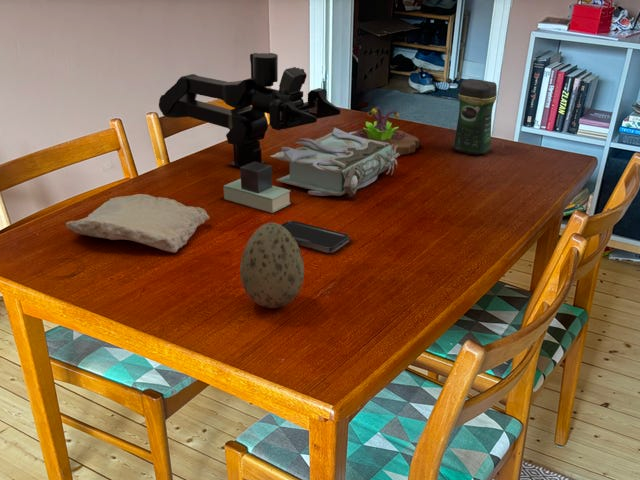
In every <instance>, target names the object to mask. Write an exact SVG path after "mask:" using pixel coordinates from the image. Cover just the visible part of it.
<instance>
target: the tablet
mask: <svg viewBox="0 0 640 480" xmlns="http://www.w3.org/2000/svg"><path fill="white" fill-rule="evenodd" d="M207 220H210V215H208V213H207V211H206V210H205V209H204V208H202V207H199V206H189V205H188V206H186V205H185V204H183V203H181V202H178V201H177V200H175V199H171V198H168V197H161V196H159V197H155V196H154V195H153V196H152V195H150V194H143V193H138V194H133V195H124V196H123V195H122V196H117V197H111V198H109V200H108V201H105V202H104V203H102V205H100V206H99V207H98V208H96V209H94V210H93V211H92V212H90V213H89V214H88V215H87V216H86V217H84V218H81V219H78V220H71V221H67V222H66V223H65V226H66V229H67V230H70V231H71V232H73V233H76V234H79V235H81V236H87V237H94V238H100V239H107V240H111V241H117V240H123V241H124V240H125V241H126V240H127V241H132V242H135V243H139V244H142V245H146V246H148V247H152V248H156V249H159V250H161V251H163V252H164V251H165V252H169V253H177V252H178V250H179V249H182V248H183V246H185V245H187V242H188V240H189V239H190V238H191V237H192V236H193V235H194V234H195V232H196V230H197V227H199V226H201V225H203V224H205V222H206V221H207Z"/></svg>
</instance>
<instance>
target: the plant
mask: <svg viewBox="0 0 640 480" xmlns="http://www.w3.org/2000/svg"><path fill="white" fill-rule="evenodd" d="M377 112H378V114H377ZM391 114H394V118H396V119H398V118H399V117H400V114H399V112H398V111H395V110H390V111H388V112H387V113H386V114H385V115H384V117H383V113H382V109H381V108H380V107H379V106H375V107H373V108H372V109H371V110H369V111H368V112H367V117H369V118H371V117H372V116H374V118H375V119H376V120H375V121H373V123H372V122H370V121H365V126H366V128H365V127H362V129H360V128H357V129H356V130H354V131H352V132H357V133H353V134H351V135H354V136H358V137H361V138H365V139H370V140H375V141H380V142H385V143H388V144H390V145H391V146H392V144H393V146H392V149H393V150H394V148H395V146H396V145H398V146H397V148H396V153H399V155H400V156H404V155H405V156H407V155H410V154H412V153H415V152H416V149H419V147H420V140H419V138H418V137H416V136H414V135H411V134H409V133H407V132H404V131H403V130H398V129H399V128H400V127H399V126H395V127H394V126H393V127H392V124H393V122H390V121H389V120H388V119H389V116H390V115H391ZM396 153H395V154H396ZM395 154H394V155H395Z"/></svg>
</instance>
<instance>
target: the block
mask: <svg viewBox="0 0 640 480" xmlns="http://www.w3.org/2000/svg"><path fill="white" fill-rule="evenodd" d="M239 169H240V170H239V171H240V172H239V173H240V179H241V189H244V190H248V191H251V192H255V193H261V192H263V191H265V190H267V189H269V188H272V186H273V170H272V169H273V167H272V165H270V164H267V163H265V164H263V163H259V162H255V161H254V162H252V163H249V164H247V165H244V166H242V167H240V168H239Z"/></svg>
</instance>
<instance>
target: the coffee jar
mask: <svg viewBox="0 0 640 480" xmlns="http://www.w3.org/2000/svg"><path fill="white" fill-rule="evenodd" d="M497 89H498V88H497V83H496V82H494V81H488V80H484V79H479V78H478V79H477V78H467V79H464V80H462V81H461V84H460V86H459V90H458V101H459V110H458V118H457V123H456V124H457V125H456V128H455V129H456V130H455V135H454V141H453V149H454V151H456V152H459V153H463V154H467V155H476V156H477V155H485V154H488V152H490V150H491V144H492V143H491V142H492V116H493V109H494V105H495V102H496V101H497V97H498V94H497V93H498V91H497Z"/></svg>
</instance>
